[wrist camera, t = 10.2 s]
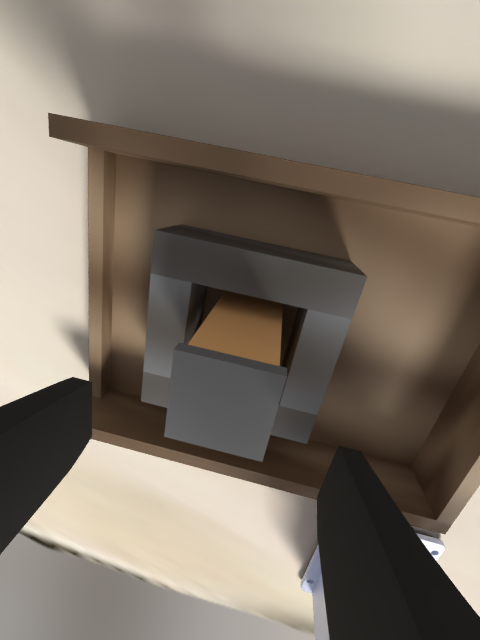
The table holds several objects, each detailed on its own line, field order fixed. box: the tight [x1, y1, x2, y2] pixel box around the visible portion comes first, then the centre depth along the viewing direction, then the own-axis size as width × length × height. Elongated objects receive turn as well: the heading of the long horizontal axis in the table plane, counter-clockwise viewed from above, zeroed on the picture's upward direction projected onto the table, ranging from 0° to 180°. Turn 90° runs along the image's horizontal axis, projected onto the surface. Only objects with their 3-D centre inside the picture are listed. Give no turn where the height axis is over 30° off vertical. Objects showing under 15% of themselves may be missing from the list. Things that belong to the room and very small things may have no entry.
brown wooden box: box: [48, 113, 480, 534], centre depth 16 cm, size 16×22×4 cm
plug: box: [164, 291, 287, 462], centre depth 14 cm, size 4×4×8 cm
